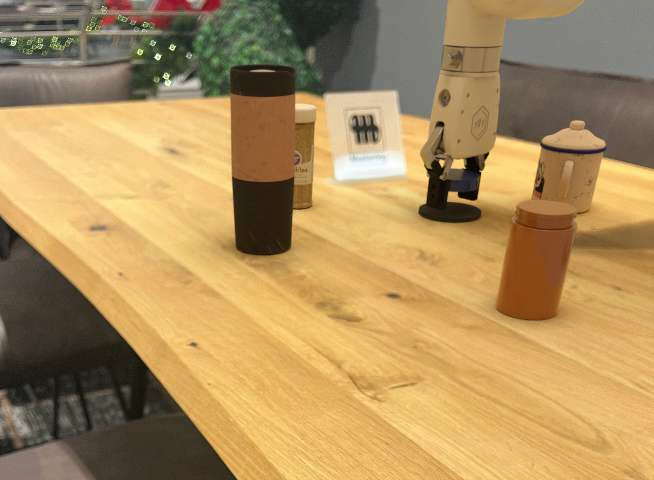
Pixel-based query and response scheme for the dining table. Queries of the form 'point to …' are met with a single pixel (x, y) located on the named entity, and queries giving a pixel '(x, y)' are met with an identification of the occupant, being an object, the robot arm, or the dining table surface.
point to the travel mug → (263, 156)
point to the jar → (536, 259)
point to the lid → (462, 180)
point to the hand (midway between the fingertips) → (451, 202)
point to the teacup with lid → (569, 167)
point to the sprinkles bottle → (304, 154)
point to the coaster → (451, 212)
